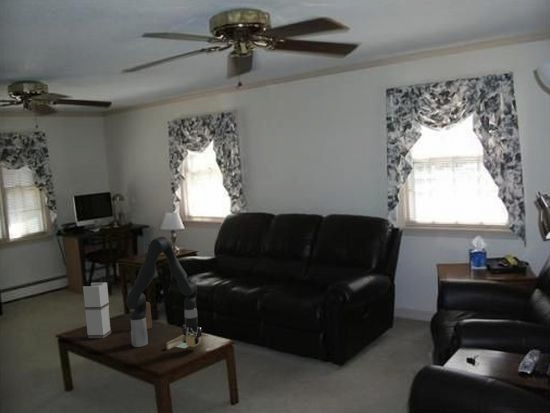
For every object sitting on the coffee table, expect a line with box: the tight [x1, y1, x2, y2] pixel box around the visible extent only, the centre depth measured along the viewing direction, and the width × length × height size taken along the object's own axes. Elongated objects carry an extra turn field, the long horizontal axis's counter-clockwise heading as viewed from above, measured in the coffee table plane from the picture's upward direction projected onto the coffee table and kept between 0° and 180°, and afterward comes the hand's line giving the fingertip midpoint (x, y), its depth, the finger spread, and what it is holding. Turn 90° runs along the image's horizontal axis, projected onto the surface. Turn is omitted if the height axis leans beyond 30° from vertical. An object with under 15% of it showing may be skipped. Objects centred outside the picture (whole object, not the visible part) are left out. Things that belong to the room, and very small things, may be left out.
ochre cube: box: [185, 333, 200, 348], centre depth 294 cm, size 6×6×6 cm
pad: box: [174, 341, 189, 349], centre depth 303 cm, size 8×8×1 cm
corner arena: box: [165, 334, 202, 350], centre depth 303 cm, size 13×17×4 cm
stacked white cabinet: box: [82, 282, 112, 339], centre depth 332 cm, size 11×11×35 cm
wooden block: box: [146, 301, 153, 330], centre depth 340 cm, size 9×4×18 cm, turn 131°
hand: (192, 343), depth 294 cm, fingers closed on ochre cube, 5 cm apart
